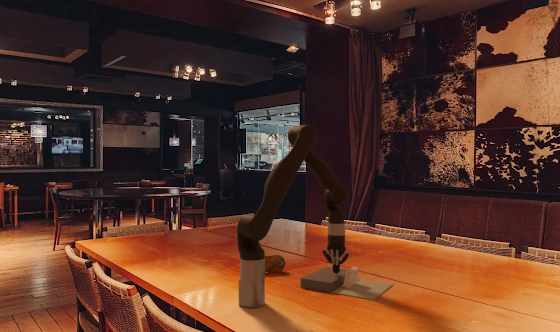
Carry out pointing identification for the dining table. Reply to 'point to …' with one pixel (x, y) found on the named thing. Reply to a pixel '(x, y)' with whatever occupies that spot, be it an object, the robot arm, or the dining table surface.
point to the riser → (324, 279)
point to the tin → (274, 263)
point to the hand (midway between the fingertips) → (336, 273)
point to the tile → (351, 277)
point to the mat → (364, 289)
